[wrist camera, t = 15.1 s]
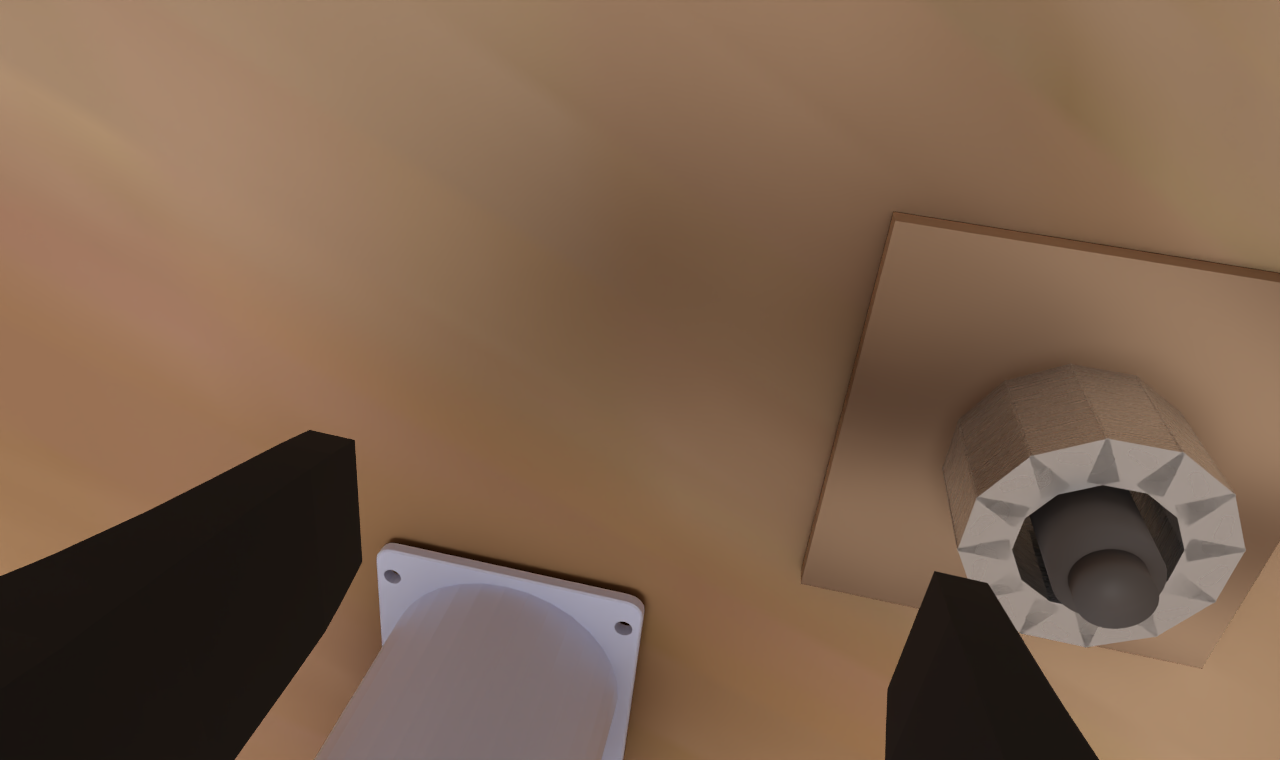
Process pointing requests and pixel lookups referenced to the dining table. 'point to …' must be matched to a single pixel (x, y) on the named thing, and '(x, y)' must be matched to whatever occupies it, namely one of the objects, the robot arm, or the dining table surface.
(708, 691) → the dining table surface
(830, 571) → the shaft stand
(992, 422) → the tube
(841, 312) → the dining table surface
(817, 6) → the dining table surface
